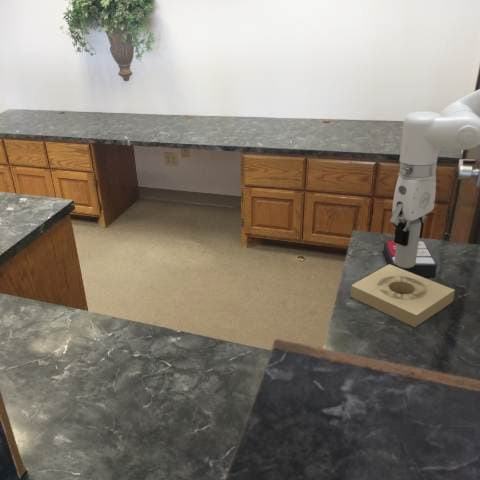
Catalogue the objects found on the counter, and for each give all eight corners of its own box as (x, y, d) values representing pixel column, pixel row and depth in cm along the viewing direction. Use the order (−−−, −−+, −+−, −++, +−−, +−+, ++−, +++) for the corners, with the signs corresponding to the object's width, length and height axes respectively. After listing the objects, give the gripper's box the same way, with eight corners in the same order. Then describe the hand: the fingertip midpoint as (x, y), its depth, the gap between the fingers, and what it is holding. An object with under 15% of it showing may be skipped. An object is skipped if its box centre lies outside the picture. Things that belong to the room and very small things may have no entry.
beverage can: (390, 265, 126) (395, 221, 120) (399, 257, 128) (404, 214, 123) (410, 271, 122) (416, 226, 117) (418, 262, 125) (425, 218, 120)
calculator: (424, 240, 148) (437, 262, 135) (423, 253, 150) (435, 277, 137) (384, 239, 151) (393, 261, 138) (383, 252, 153) (391, 276, 140)
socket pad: (452, 301, 127) (455, 289, 125) (414, 327, 119) (416, 315, 118) (388, 275, 140) (389, 264, 139) (350, 296, 133) (351, 285, 132)
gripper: (409, 182, 108) (400, 257, 116) (454, 162, 115) (443, 233, 123) (378, 174, 113) (371, 246, 121) (423, 155, 121) (414, 224, 129)
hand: (407, 239), depth 122 cm, fingers closed on beverage can, 4 cm apart
